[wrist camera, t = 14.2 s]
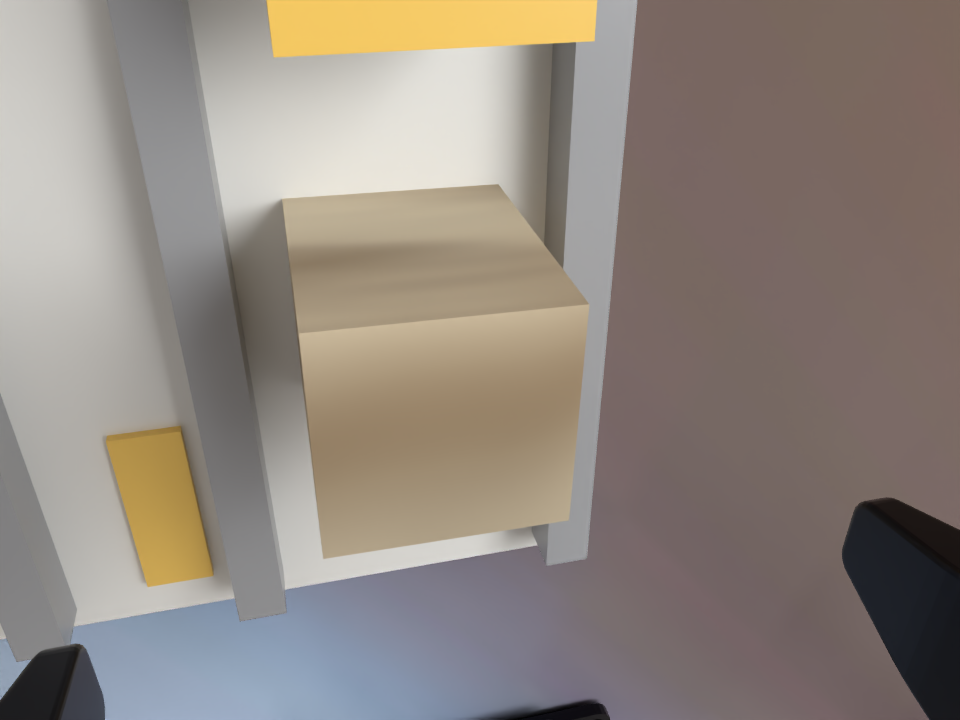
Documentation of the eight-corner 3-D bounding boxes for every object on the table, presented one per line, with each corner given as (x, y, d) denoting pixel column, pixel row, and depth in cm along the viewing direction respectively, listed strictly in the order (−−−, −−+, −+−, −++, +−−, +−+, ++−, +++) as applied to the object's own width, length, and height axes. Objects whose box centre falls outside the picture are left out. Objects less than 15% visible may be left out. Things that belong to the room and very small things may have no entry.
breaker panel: (550, 500, 23) (585, 573, 20) (-321, 645, 19) (-398, 755, 16) (602, -385, 13) (675, -430, 11) (-1147, -484, 9) (-1598, -591, 7)
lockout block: (493, 364, 18) (568, 520, 14) (302, 386, 17) (323, 559, 13) (498, 184, 16) (589, 304, 12) (282, 198, 15) (299, 333, 11)
